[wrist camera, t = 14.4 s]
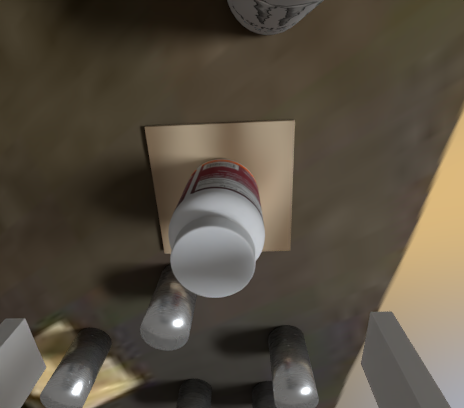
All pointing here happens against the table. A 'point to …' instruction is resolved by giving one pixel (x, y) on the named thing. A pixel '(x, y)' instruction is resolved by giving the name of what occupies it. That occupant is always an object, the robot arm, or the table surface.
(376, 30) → the table surface
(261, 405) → the grey cylinder
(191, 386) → the cylinder
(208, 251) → the pill bottle
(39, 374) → the robot arm
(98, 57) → the table surface
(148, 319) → the cylinder
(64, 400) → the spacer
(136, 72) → the table surface
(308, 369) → the cylinder
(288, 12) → the energy drink can
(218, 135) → the coaster
